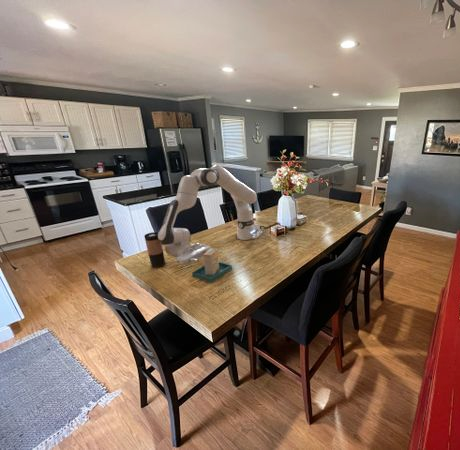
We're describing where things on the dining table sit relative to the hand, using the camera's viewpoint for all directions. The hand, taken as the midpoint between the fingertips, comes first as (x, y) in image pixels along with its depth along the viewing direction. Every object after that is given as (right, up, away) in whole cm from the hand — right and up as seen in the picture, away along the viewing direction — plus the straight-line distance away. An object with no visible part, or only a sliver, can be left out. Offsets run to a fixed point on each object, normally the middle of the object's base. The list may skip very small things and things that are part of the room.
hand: (204, 257), depth 136 cm
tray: (+4, -9, +1) cm, 10 cm away
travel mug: (-31, -6, +9) cm, 33 cm away
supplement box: (+5, -9, +1) cm, 10 cm away
